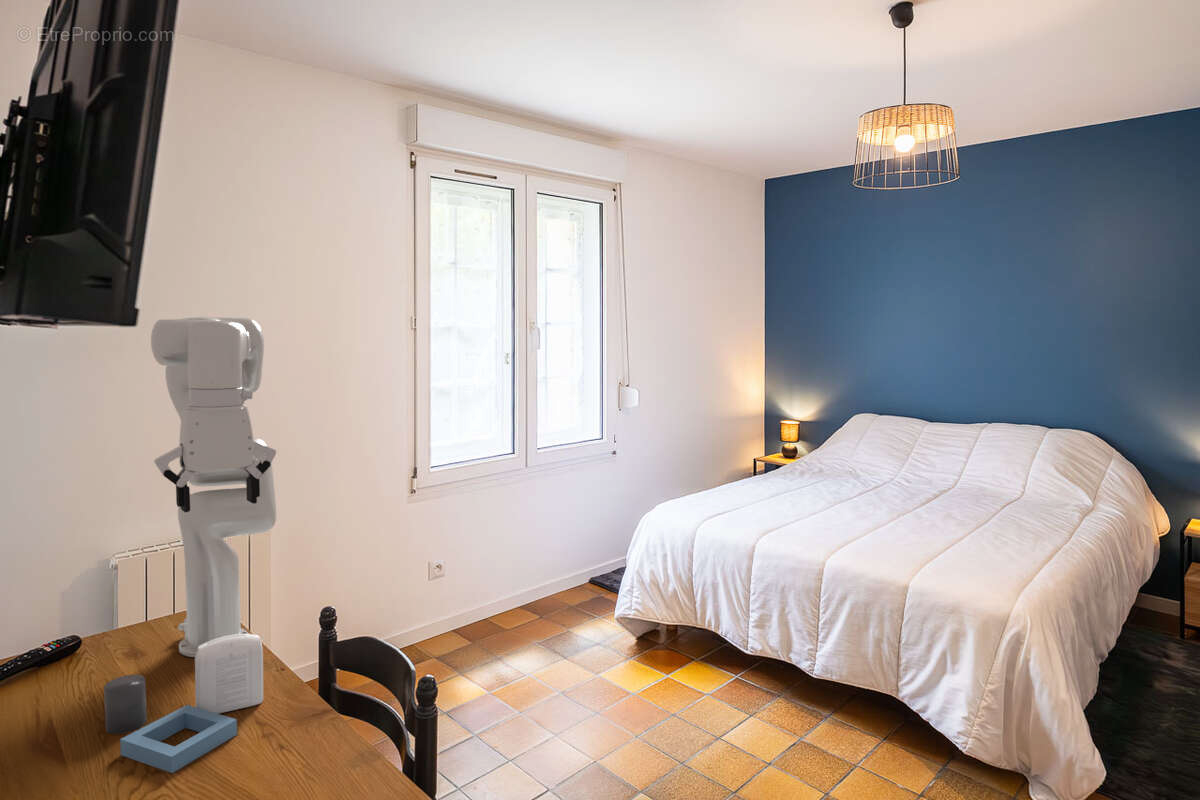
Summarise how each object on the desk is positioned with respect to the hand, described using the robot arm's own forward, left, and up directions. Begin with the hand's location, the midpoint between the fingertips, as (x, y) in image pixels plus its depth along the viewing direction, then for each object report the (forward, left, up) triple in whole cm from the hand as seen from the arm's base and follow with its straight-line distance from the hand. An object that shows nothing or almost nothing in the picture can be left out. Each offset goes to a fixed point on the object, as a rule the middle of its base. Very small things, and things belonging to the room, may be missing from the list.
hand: (219, 506), depth 115 cm
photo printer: (-3, +3, -36) cm, 36 cm away
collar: (0, -8, -36) cm, 36 cm away
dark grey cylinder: (-13, -8, -36) cm, 39 cm away
